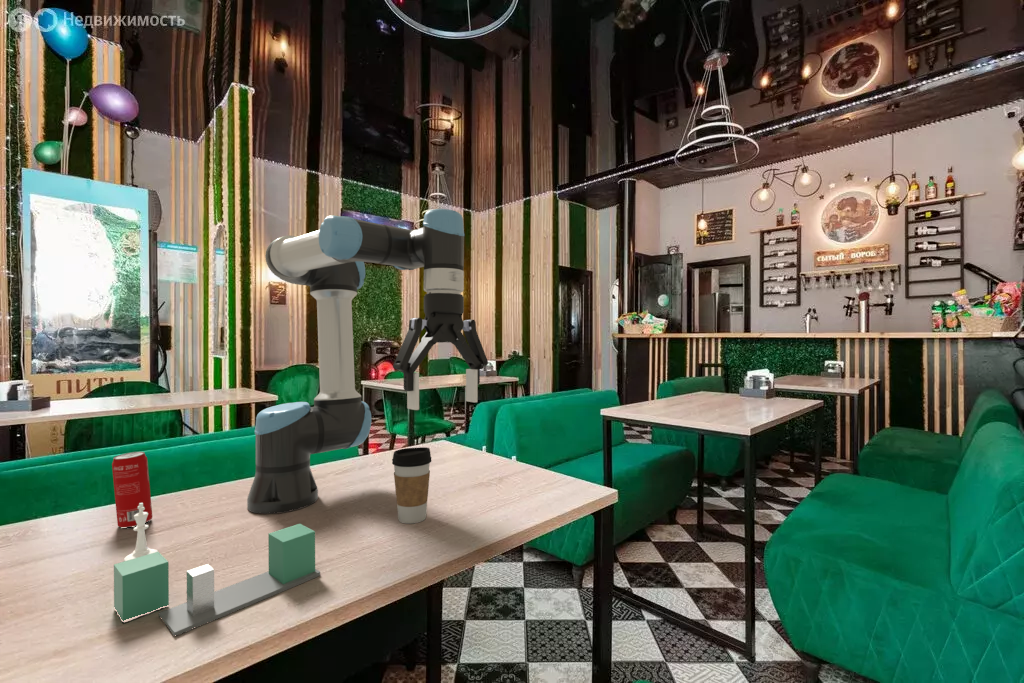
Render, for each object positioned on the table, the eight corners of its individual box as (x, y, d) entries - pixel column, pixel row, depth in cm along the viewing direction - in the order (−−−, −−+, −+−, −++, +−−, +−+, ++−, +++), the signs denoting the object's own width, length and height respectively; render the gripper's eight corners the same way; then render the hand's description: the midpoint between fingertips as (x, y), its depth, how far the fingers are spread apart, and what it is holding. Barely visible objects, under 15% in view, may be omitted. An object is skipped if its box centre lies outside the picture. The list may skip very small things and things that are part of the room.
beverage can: (158, 521, 99) (157, 451, 99) (122, 532, 93) (121, 458, 93) (142, 516, 101) (142, 449, 101) (106, 527, 95) (106, 455, 95)
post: (186, 609, 65) (186, 570, 65) (207, 601, 67) (207, 563, 67) (193, 616, 63) (192, 576, 63) (214, 607, 65) (214, 569, 65)
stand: (159, 616, 64) (158, 565, 64) (299, 562, 80) (299, 521, 80) (174, 636, 60) (174, 582, 60) (320, 575, 75) (320, 531, 75)
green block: (114, 610, 66) (113, 564, 66) (158, 594, 70) (158, 551, 70) (122, 624, 63) (122, 576, 63) (168, 606, 67) (168, 561, 67)
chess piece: (129, 568, 78) (129, 510, 78) (118, 561, 81) (118, 504, 81) (163, 557, 82) (163, 501, 82) (152, 550, 85) (151, 496, 85)
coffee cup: (422, 527, 95) (422, 455, 95) (385, 524, 96) (384, 453, 96) (437, 512, 103) (437, 446, 103) (402, 509, 104) (402, 444, 104)
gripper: (395, 286, 75) (395, 415, 75) (505, 296, 93) (505, 400, 93) (373, 290, 81) (373, 410, 81) (481, 298, 98) (481, 397, 98)
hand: (444, 405), depth 87 cm, fingers open, 13 cm apart
